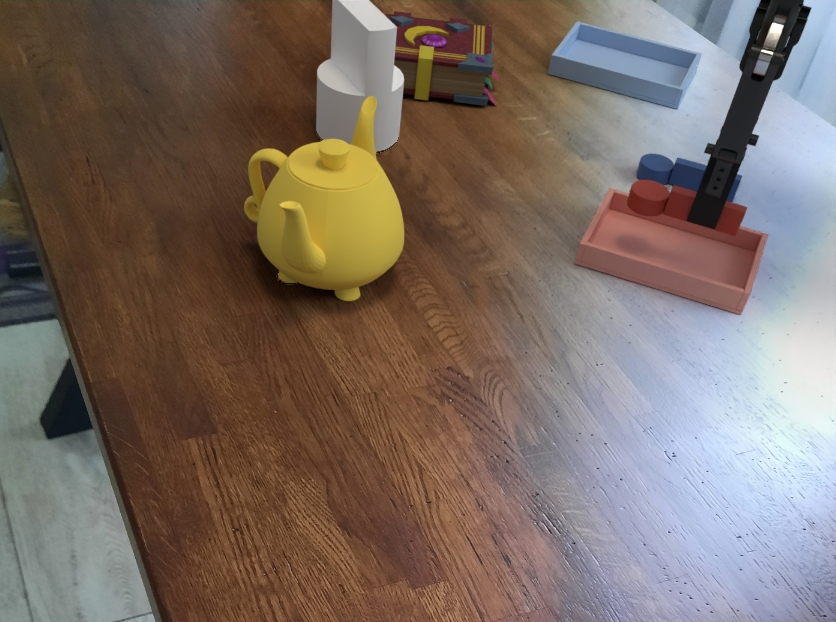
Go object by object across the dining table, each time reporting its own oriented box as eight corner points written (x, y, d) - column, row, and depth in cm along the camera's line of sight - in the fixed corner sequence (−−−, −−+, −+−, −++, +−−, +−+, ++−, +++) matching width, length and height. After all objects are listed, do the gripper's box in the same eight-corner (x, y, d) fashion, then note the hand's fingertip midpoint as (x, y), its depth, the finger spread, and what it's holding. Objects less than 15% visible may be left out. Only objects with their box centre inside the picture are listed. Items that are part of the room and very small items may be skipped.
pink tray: (759, 253, 92) (769, 233, 90) (740, 315, 86) (750, 294, 84) (603, 207, 95) (609, 187, 93) (574, 263, 89) (579, 242, 87)
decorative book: (364, 49, 112) (367, 4, 108) (496, 65, 113) (504, 20, 109) (355, 93, 105) (358, 46, 101) (496, 110, 106) (504, 64, 102)
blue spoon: (736, 191, 99) (744, 170, 97) (730, 207, 97) (738, 186, 95) (640, 164, 101) (647, 142, 99) (632, 179, 99) (639, 157, 97)
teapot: (288, 192, 92) (287, 71, 83) (430, 231, 90) (445, 110, 81) (197, 304, 80) (185, 177, 71) (357, 351, 78) (366, 226, 69)
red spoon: (739, 224, 87) (750, 200, 85) (733, 243, 85) (743, 219, 83) (631, 191, 89) (639, 167, 87) (622, 209, 87) (630, 185, 85)
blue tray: (696, 72, 116) (702, 53, 114) (677, 109, 109) (683, 90, 108) (572, 39, 119) (577, 20, 117) (547, 73, 112) (551, 54, 111)
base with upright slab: (413, 147, 99) (425, 24, 90) (336, 160, 96) (341, 35, 87) (376, 107, 104) (385, -13, 94) (302, 119, 101) (303, -4, 91)
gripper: (781, -120, 72) (679, 172, 91) (752, -64, 64) (646, 244, 83) (879, -98, 71) (755, 194, 90) (861, -38, 63) (729, 269, 82)
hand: (703, 218), depth 86 cm, fingers closed on red spoon, 1 cm apart
